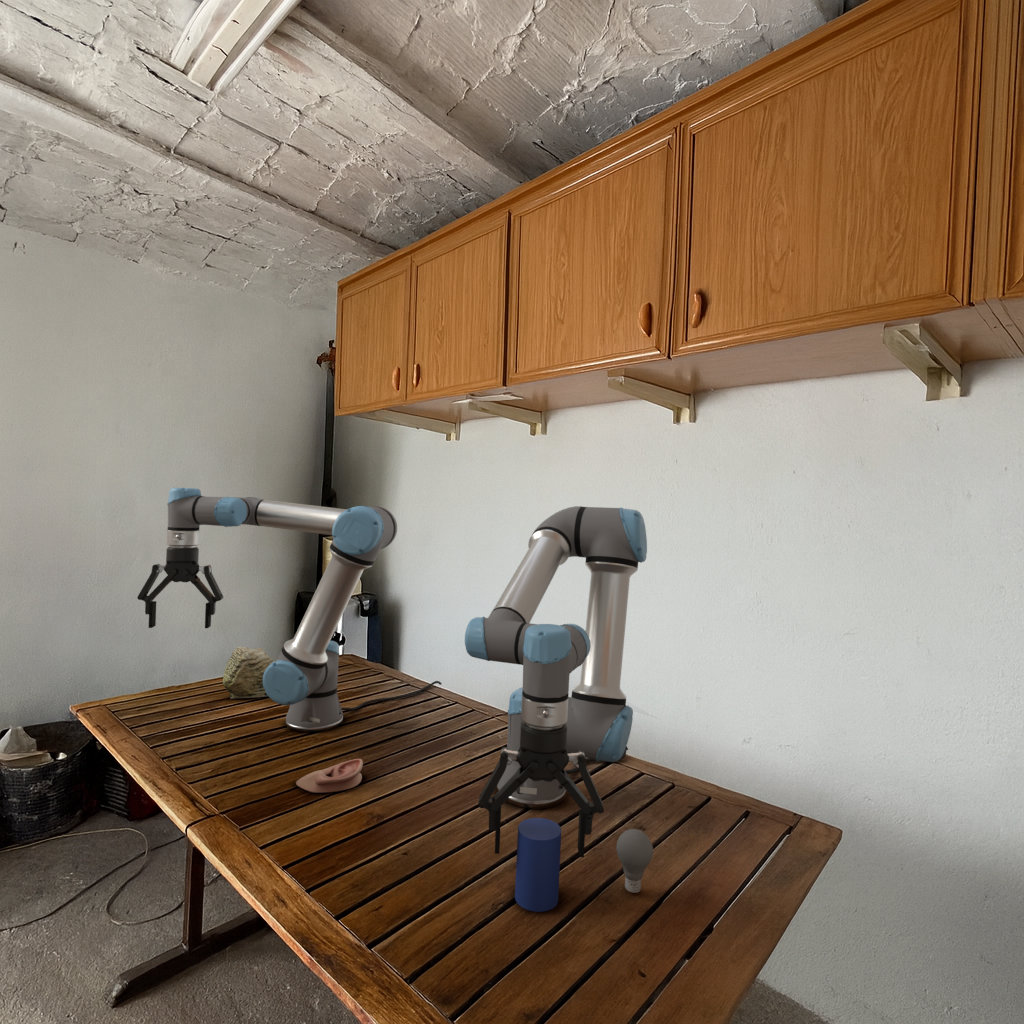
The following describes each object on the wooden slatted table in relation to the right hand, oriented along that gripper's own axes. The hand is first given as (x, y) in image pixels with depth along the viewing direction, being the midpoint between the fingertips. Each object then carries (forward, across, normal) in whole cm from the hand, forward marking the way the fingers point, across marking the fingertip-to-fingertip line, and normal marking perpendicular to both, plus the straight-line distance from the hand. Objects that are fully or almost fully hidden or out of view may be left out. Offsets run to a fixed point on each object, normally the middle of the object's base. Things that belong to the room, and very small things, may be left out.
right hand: (538, 851), depth 103 cm
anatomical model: (+8, -45, +37) cm, 59 cm away
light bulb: (+8, +16, +2) cm, 18 cm away
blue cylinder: (+7, 0, 0) cm, 8 cm away
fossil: (+8, -86, +94) cm, 127 cm away
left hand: (-19, -93, +63) cm, 114 cm away
